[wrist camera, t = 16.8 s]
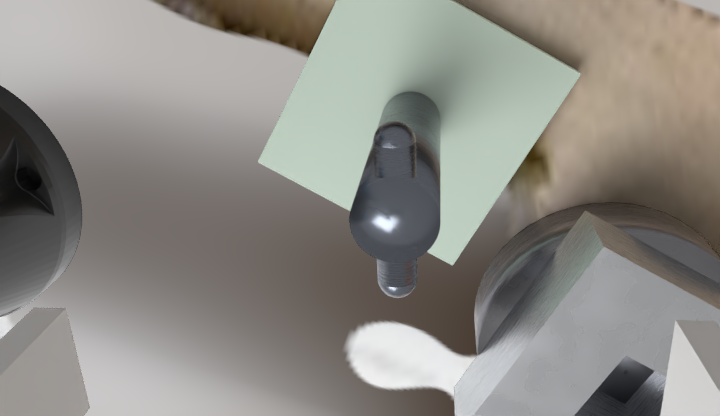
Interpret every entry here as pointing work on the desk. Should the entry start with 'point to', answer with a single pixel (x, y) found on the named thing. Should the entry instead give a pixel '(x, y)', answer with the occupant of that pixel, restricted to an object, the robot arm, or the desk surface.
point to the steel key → (400, 191)
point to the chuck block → (586, 313)
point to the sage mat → (432, 78)
